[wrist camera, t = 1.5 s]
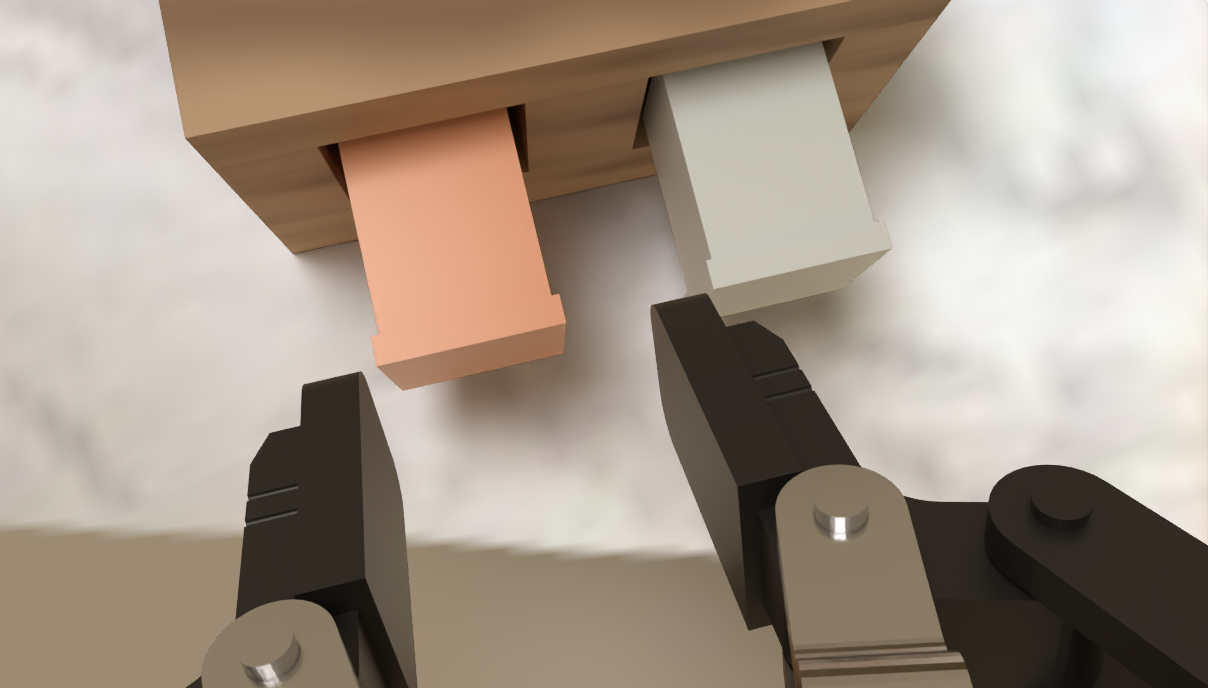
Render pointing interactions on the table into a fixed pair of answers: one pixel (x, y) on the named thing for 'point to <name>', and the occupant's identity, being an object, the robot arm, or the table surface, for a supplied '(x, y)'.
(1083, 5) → the table surface
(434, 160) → the salmon key
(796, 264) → the grey key
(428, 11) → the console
